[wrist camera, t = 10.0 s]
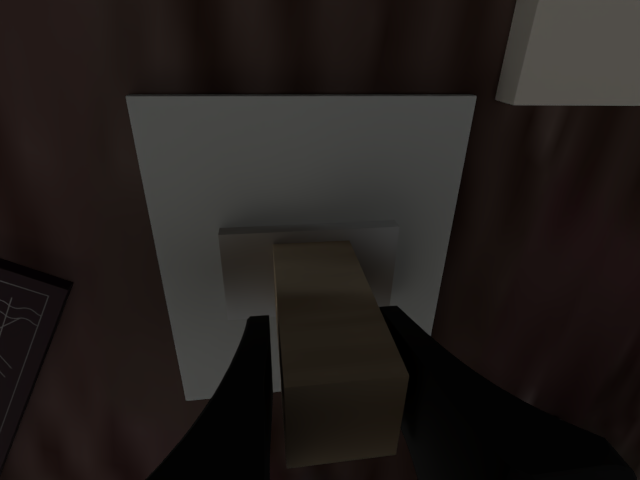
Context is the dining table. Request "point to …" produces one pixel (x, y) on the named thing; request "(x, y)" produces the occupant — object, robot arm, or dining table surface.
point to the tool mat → (291, 194)
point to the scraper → (324, 331)
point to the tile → (572, 53)
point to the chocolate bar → (24, 339)
